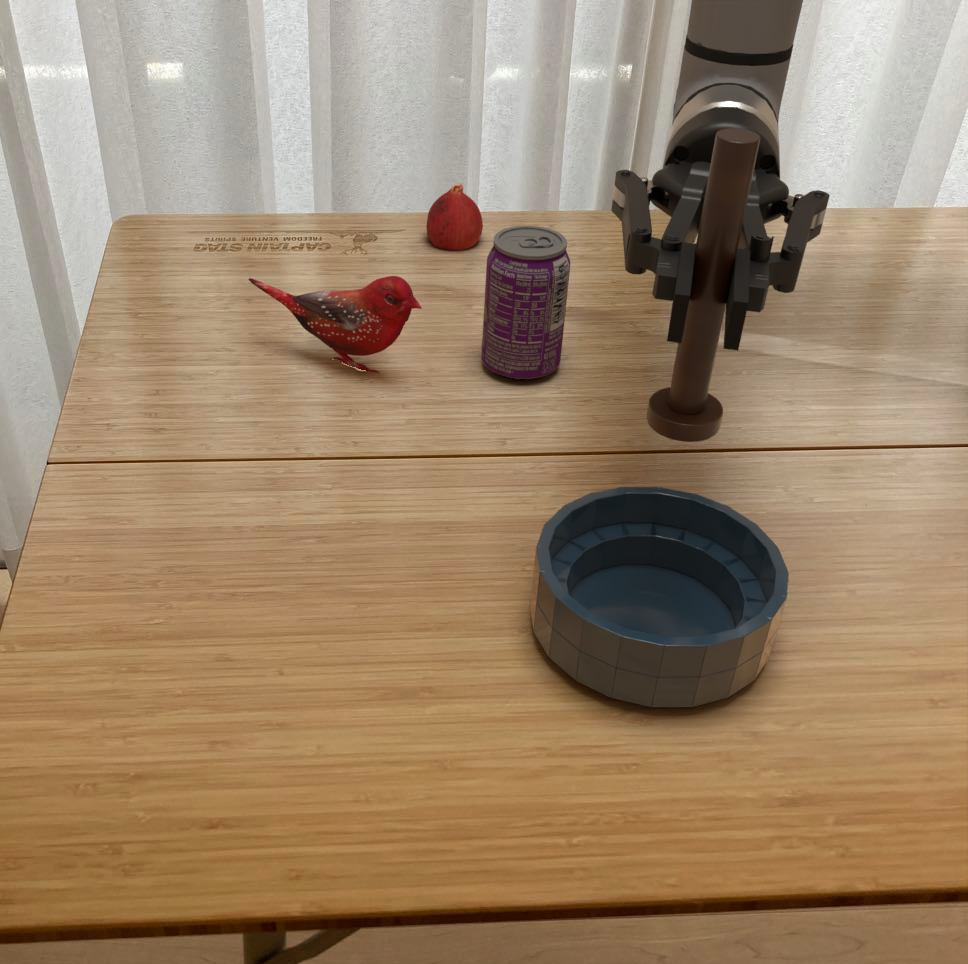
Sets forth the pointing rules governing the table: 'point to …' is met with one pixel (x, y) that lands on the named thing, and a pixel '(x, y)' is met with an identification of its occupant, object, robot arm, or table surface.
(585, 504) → the bowl
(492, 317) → the beverage can
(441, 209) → the red pomegranate
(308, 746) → the table surface
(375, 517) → the table surface
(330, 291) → the decorative bird figurine
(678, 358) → the stirring stick
